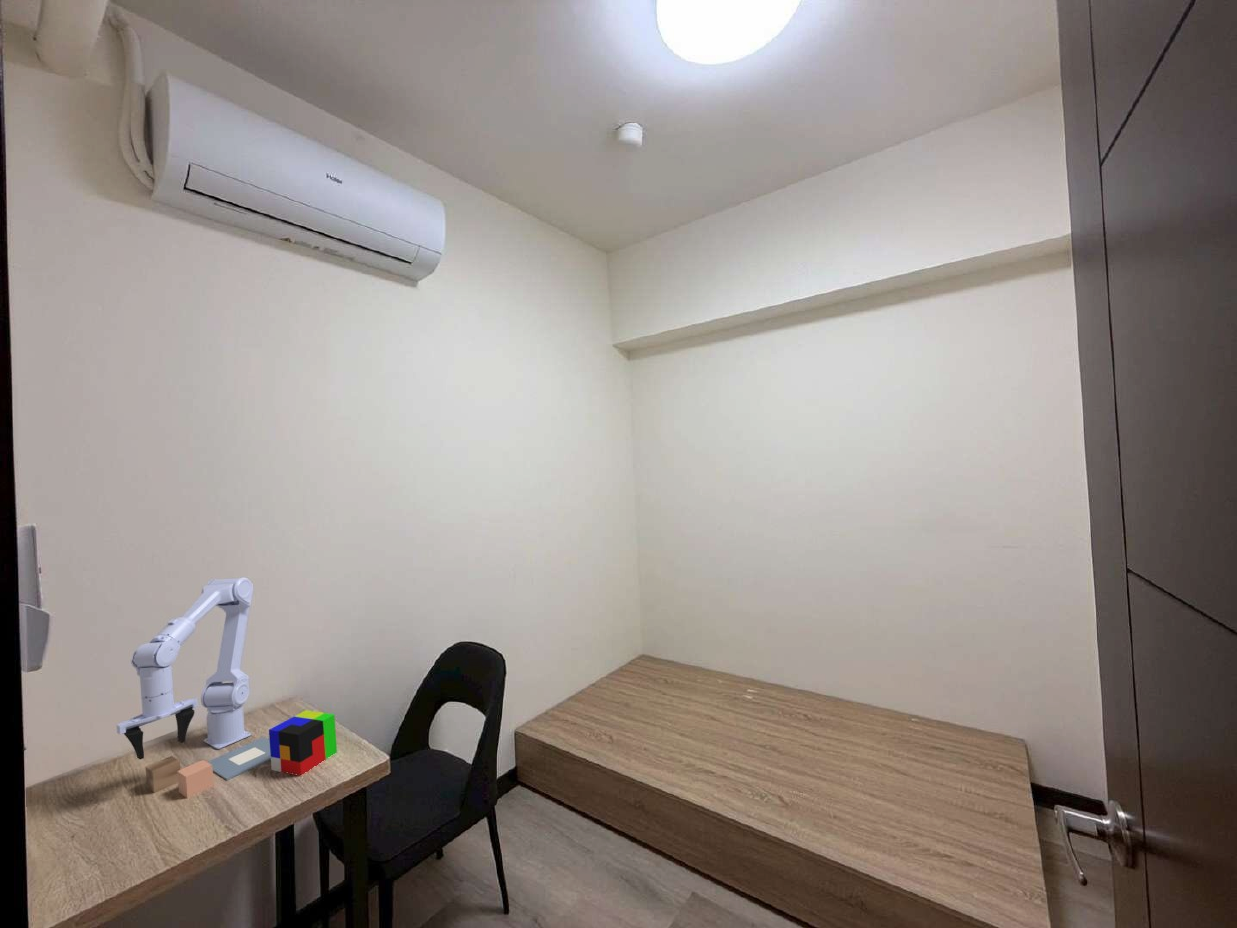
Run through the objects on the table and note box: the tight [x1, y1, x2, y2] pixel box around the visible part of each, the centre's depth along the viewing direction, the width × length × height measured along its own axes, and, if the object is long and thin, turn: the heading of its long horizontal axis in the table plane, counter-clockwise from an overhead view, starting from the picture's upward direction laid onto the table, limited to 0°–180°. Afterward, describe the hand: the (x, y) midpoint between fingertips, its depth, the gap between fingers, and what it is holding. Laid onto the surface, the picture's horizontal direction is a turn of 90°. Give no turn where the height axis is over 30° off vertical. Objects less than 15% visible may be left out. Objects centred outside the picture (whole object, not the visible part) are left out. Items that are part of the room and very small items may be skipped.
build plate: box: [207, 736, 271, 781], centre depth 133 cm, size 14×14×1 cm
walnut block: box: [144, 755, 181, 794], centre depth 124 cm, size 5×5×5 cm
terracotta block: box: [177, 759, 215, 799], centre depth 121 cm, size 5×5×5 cm
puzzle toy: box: [268, 710, 338, 776], centre depth 130 cm, size 10×10×10 cm
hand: (161, 749), depth 124 cm, fingers open, 7 cm apart
